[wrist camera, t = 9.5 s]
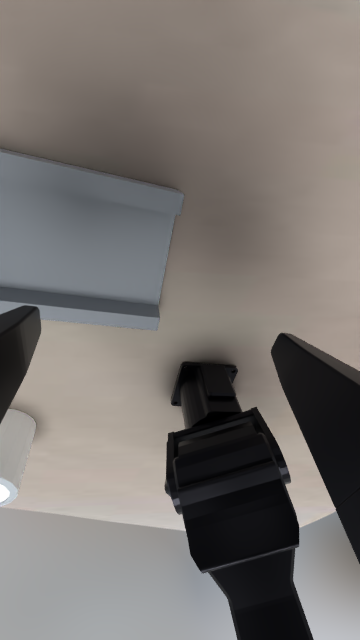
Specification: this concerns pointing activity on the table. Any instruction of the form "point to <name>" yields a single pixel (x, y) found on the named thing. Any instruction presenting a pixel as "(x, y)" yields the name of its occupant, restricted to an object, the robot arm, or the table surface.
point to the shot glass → (14, 452)
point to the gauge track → (83, 242)
